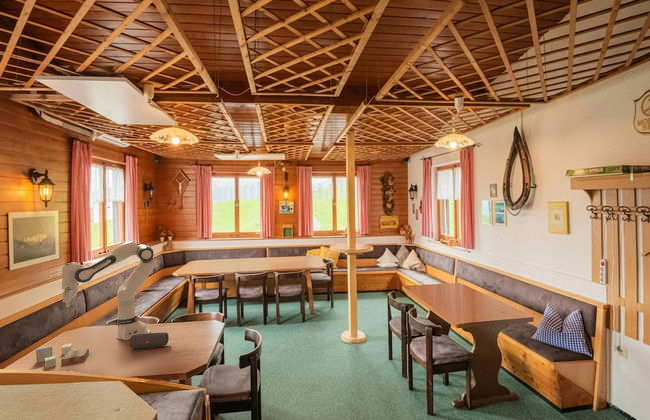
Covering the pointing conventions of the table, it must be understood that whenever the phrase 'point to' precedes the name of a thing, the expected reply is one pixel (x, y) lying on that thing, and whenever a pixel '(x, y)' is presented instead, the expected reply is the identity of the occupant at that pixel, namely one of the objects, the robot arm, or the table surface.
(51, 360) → the sage painted cube
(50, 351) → the medicine box
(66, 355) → the walnut block
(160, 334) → the bluetooth speaker
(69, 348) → the cream painted cube
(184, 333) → the table surface
